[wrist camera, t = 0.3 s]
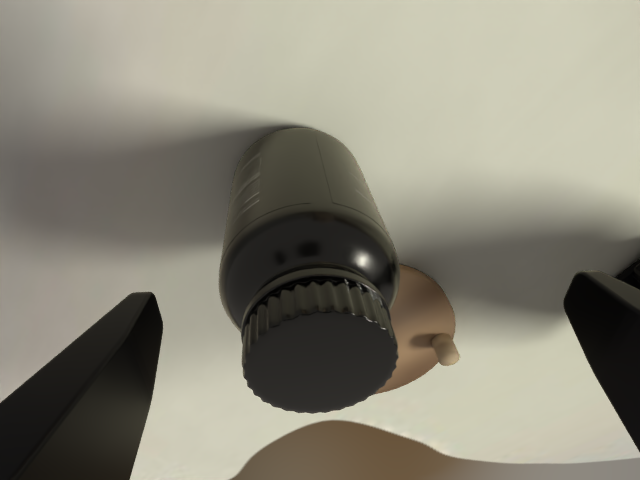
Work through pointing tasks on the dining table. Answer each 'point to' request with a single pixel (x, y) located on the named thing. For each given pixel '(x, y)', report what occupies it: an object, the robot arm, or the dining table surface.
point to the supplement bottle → (308, 274)
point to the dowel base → (420, 328)
